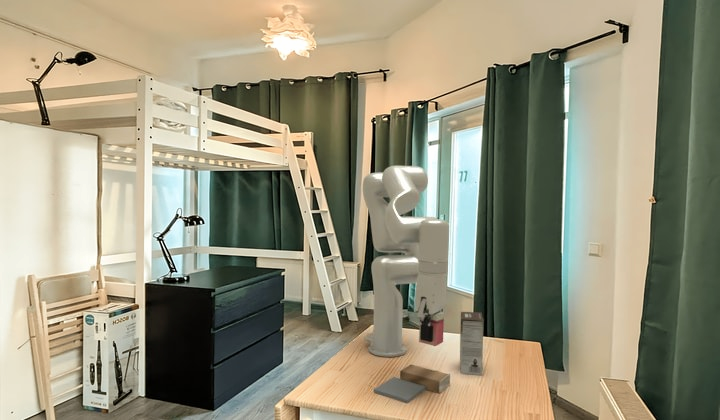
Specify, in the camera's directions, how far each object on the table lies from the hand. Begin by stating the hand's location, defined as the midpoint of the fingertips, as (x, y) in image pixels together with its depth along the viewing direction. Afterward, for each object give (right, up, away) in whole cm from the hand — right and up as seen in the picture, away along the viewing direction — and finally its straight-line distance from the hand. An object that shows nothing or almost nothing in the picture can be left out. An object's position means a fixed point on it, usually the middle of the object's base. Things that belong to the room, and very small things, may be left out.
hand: (430, 337), depth 112 cm
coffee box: (+15, -15, +17) cm, 27 cm away
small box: (0, -2, 0) cm, 2 cm away
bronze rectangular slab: (-1, -15, +6) cm, 16 cm away
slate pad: (-8, -15, +2) cm, 17 cm away
